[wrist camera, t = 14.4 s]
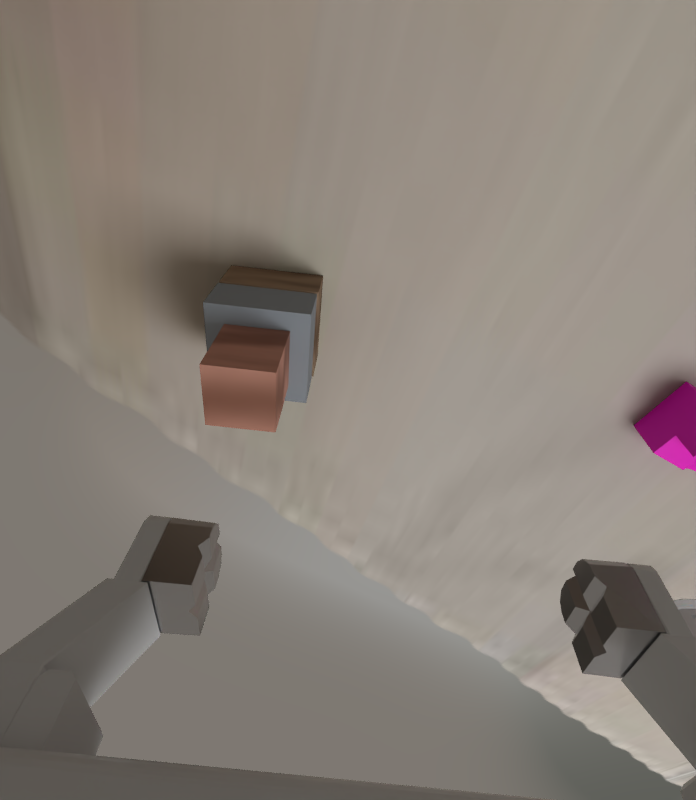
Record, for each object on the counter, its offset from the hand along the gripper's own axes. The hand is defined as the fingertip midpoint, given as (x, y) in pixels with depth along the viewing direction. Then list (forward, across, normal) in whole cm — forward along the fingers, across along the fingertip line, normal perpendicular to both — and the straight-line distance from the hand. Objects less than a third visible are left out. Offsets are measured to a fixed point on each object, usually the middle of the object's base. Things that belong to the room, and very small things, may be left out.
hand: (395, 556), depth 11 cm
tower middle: (+29, +9, +10) cm, 32 cm away
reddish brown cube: (+25, +9, +10) cm, 29 cm away
